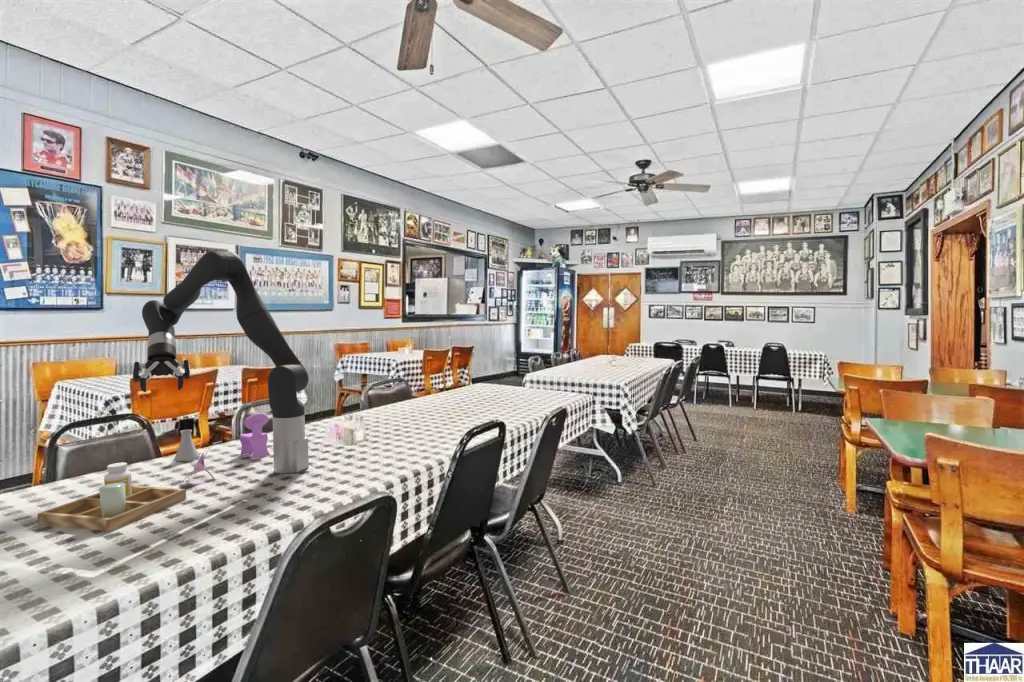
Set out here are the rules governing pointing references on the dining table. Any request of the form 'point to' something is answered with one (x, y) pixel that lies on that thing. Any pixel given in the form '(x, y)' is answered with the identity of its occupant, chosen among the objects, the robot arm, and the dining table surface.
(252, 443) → the toy chair
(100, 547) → the dining table surface
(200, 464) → the lily
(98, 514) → the caddy
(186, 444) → the flask
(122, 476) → the supplement bottle
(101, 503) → the cylinder
